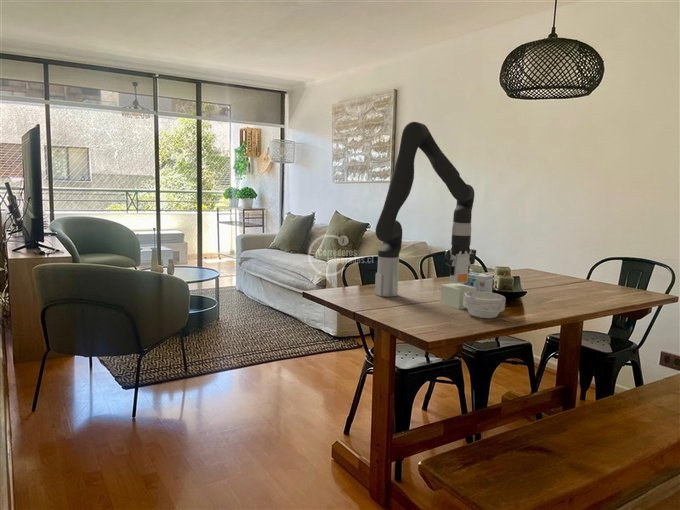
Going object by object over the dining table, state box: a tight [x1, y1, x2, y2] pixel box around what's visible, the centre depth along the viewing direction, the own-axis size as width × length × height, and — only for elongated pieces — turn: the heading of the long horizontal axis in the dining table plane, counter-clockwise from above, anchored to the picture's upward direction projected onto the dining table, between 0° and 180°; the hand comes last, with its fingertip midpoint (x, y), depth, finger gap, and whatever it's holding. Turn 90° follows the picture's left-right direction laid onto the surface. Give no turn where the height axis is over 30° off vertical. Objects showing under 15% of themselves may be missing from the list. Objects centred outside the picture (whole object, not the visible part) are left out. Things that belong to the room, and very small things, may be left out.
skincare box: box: [449, 253, 470, 284], centre depth 200 cm, size 6×4×12 cm
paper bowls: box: [463, 291, 507, 319], centre depth 185 cm, size 15×15×8 cm
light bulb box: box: [464, 271, 494, 293], centre depth 215 cm, size 11×7×11 cm, turn 47°
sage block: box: [439, 283, 477, 310], centre depth 201 cm, size 9×11×8 cm
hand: (459, 274), depth 200 cm, fingers closed on skincare box, 6 cm apart
